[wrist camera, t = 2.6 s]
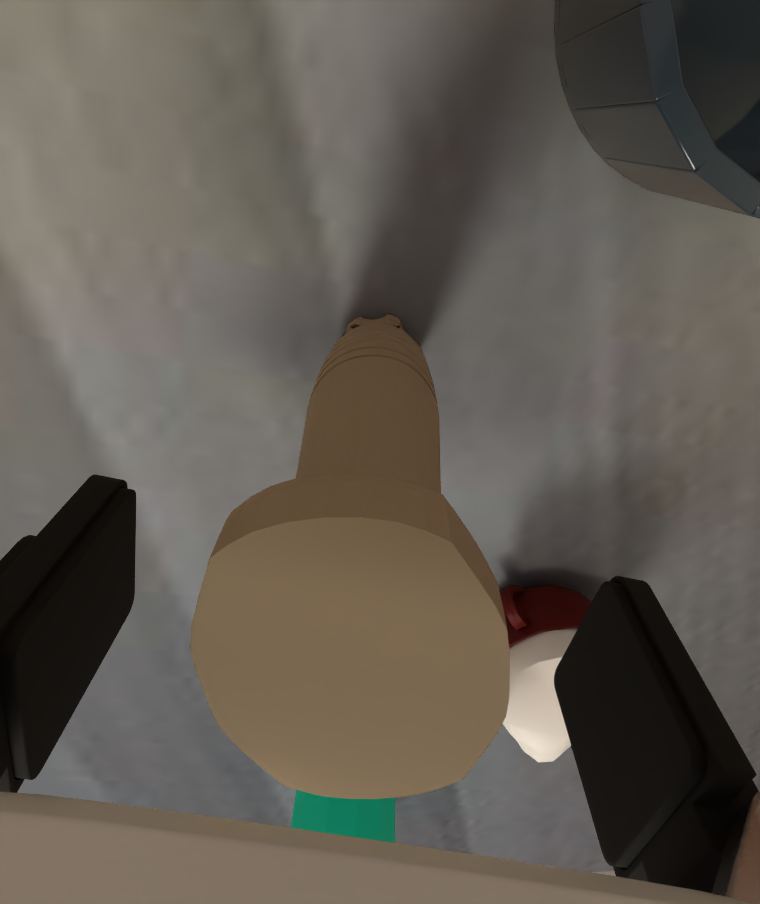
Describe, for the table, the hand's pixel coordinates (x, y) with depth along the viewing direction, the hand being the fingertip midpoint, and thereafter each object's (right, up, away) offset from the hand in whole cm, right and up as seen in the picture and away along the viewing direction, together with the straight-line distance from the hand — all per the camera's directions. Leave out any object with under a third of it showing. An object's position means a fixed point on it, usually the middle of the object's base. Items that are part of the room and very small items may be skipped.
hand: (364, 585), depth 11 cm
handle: (0, +7, +11) cm, 13 cm away
